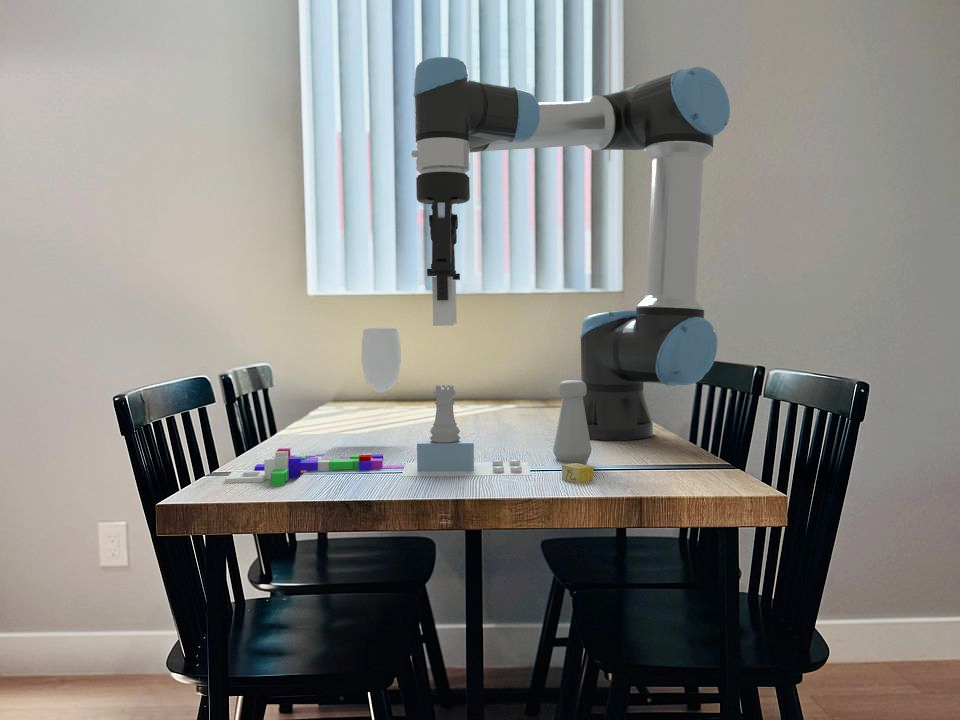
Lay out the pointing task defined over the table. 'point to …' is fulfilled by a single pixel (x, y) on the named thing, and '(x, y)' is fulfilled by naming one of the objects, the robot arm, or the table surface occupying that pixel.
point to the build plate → (477, 469)
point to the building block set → (304, 466)
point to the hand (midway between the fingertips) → (445, 324)
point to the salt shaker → (572, 424)
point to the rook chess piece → (444, 416)
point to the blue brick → (445, 456)
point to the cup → (381, 357)
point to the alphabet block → (577, 472)
